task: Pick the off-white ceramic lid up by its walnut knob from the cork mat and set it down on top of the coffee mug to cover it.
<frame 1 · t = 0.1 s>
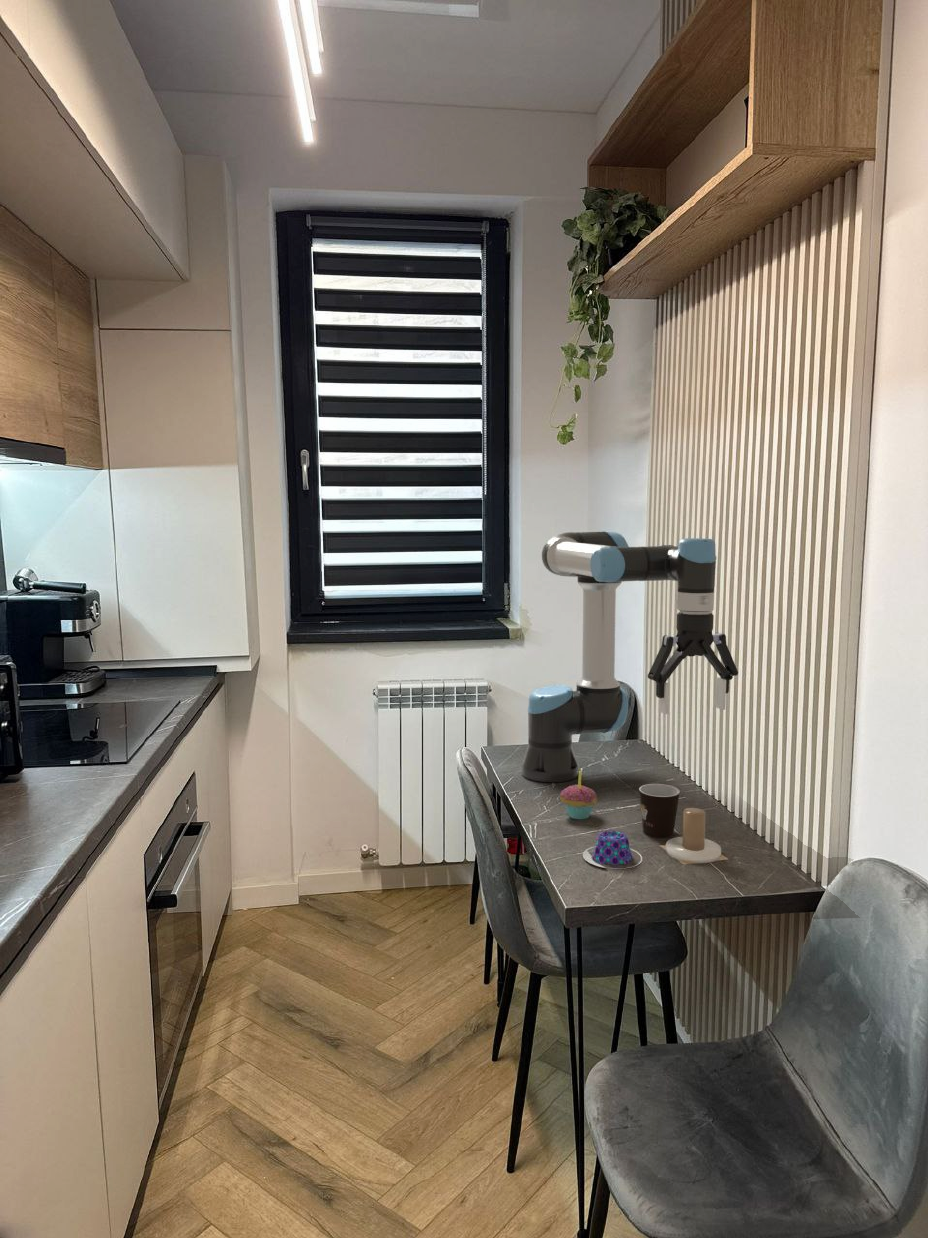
hand: (692, 710, 180), 28 cm above the table, fingers open, 13 cm apart
cork mat: (693, 854, 174), on the table
pudding: (612, 861, 172), on the table
cupcake: (578, 816, 196), on the table
coffee mug: (658, 832, 186), on the table
lid: (693, 852, 174), resting on cork mat
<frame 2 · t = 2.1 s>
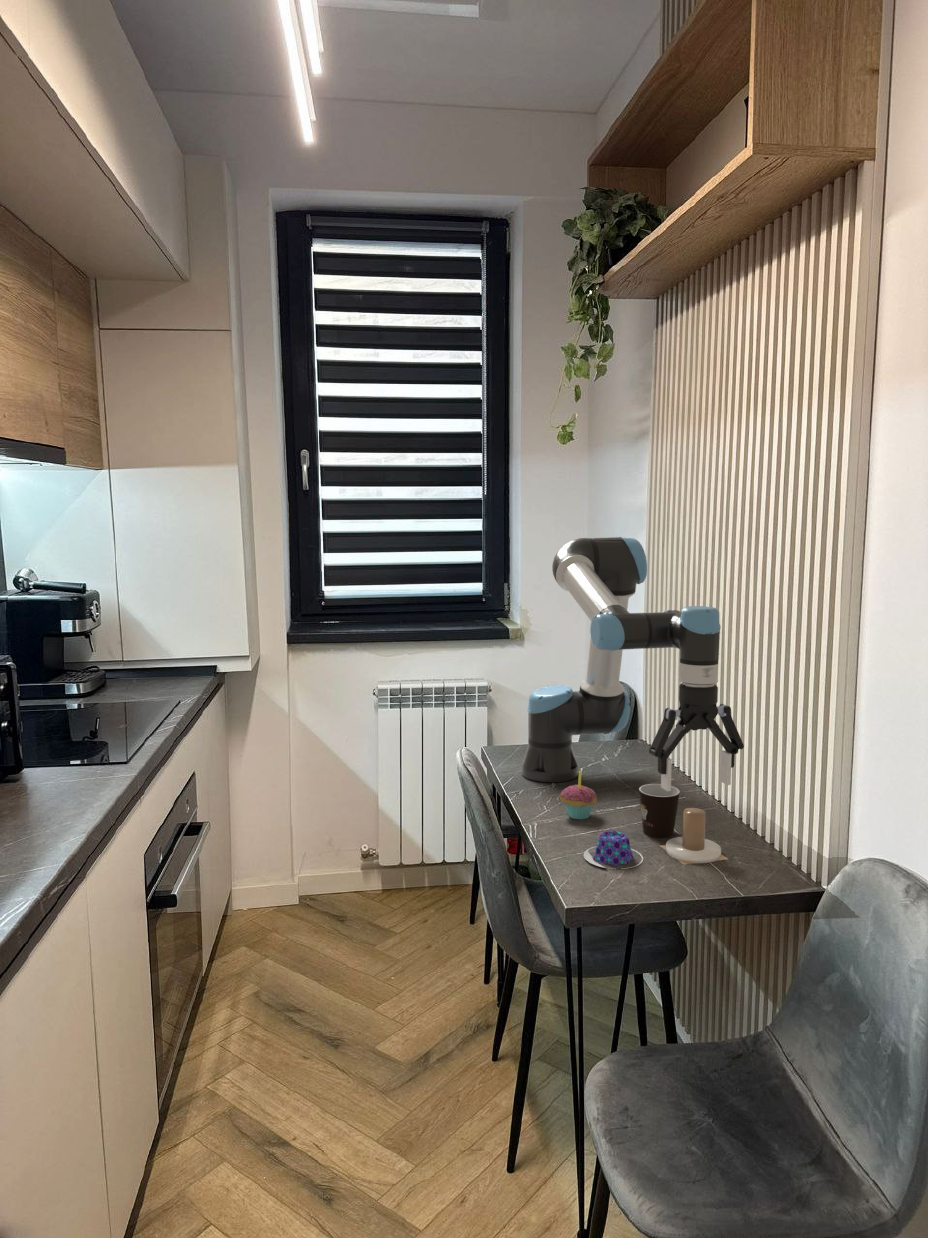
hand: (695, 786, 172), 15 cm above the table, fingers open, 13 cm apart
nothing on the table moved.
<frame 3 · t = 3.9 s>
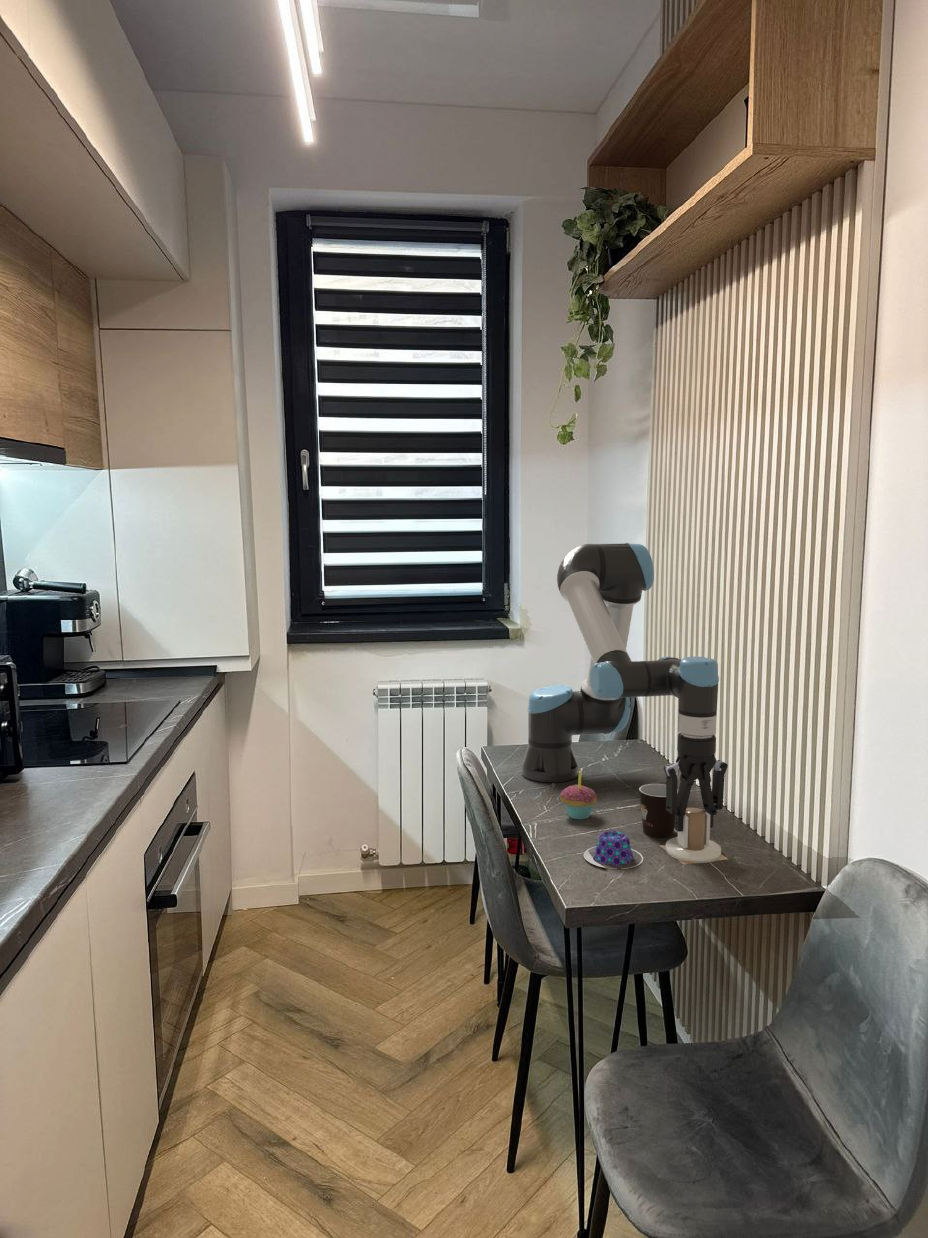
hand: (693, 844, 174), 2 cm above the table, fingers closed on lid, 4 cm apart
lid: (693, 852, 174), resting on cork mat, touching gripper
everything else where it was.
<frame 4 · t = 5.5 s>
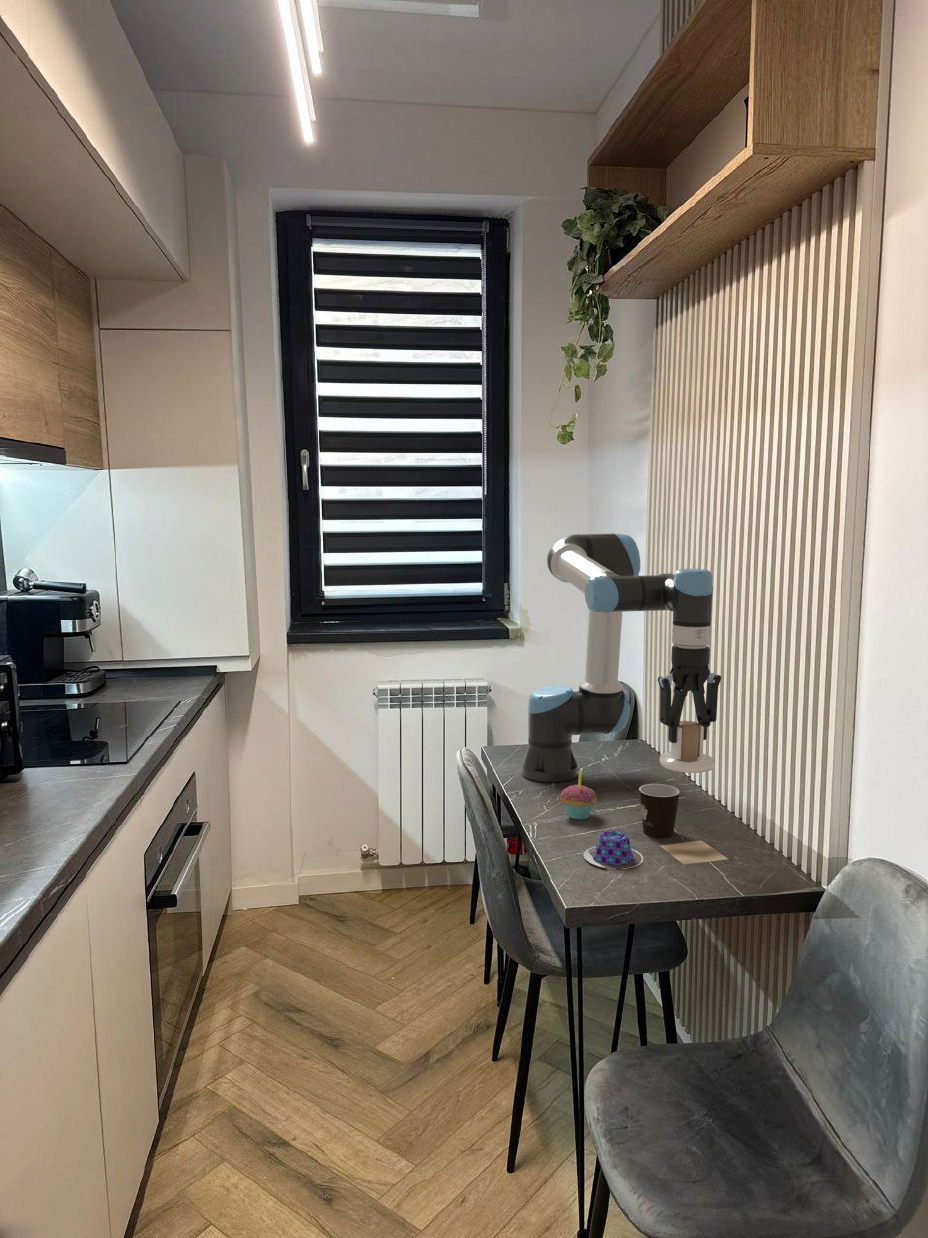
hand: (686, 756, 174), 20 cm above the table, fingers closed on lid, 4 cm apart
lid: (686, 764, 175), point 18 cm above the table, touching gripper
everything else where it was.
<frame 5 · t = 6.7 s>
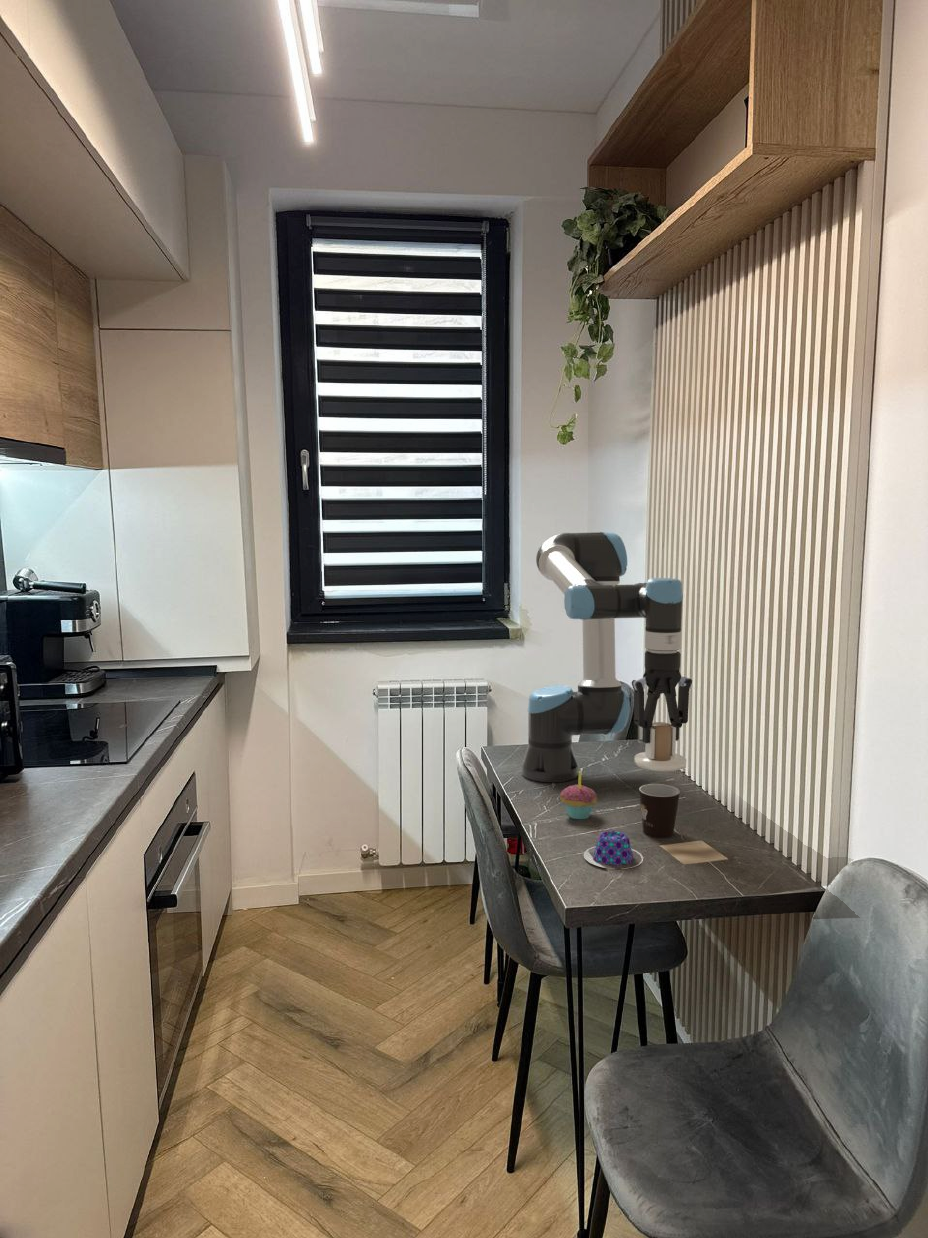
hand: (660, 756, 184), 17 cm above the table, fingers closed on lid, 4 cm apart
lid: (660, 763, 184), point 16 cm above the table, touching gripper
everything else where it was.
when the fingers open (13 cm above the table, at t = 7.6 s): lid drops 2 cm, resting on coffee mug.
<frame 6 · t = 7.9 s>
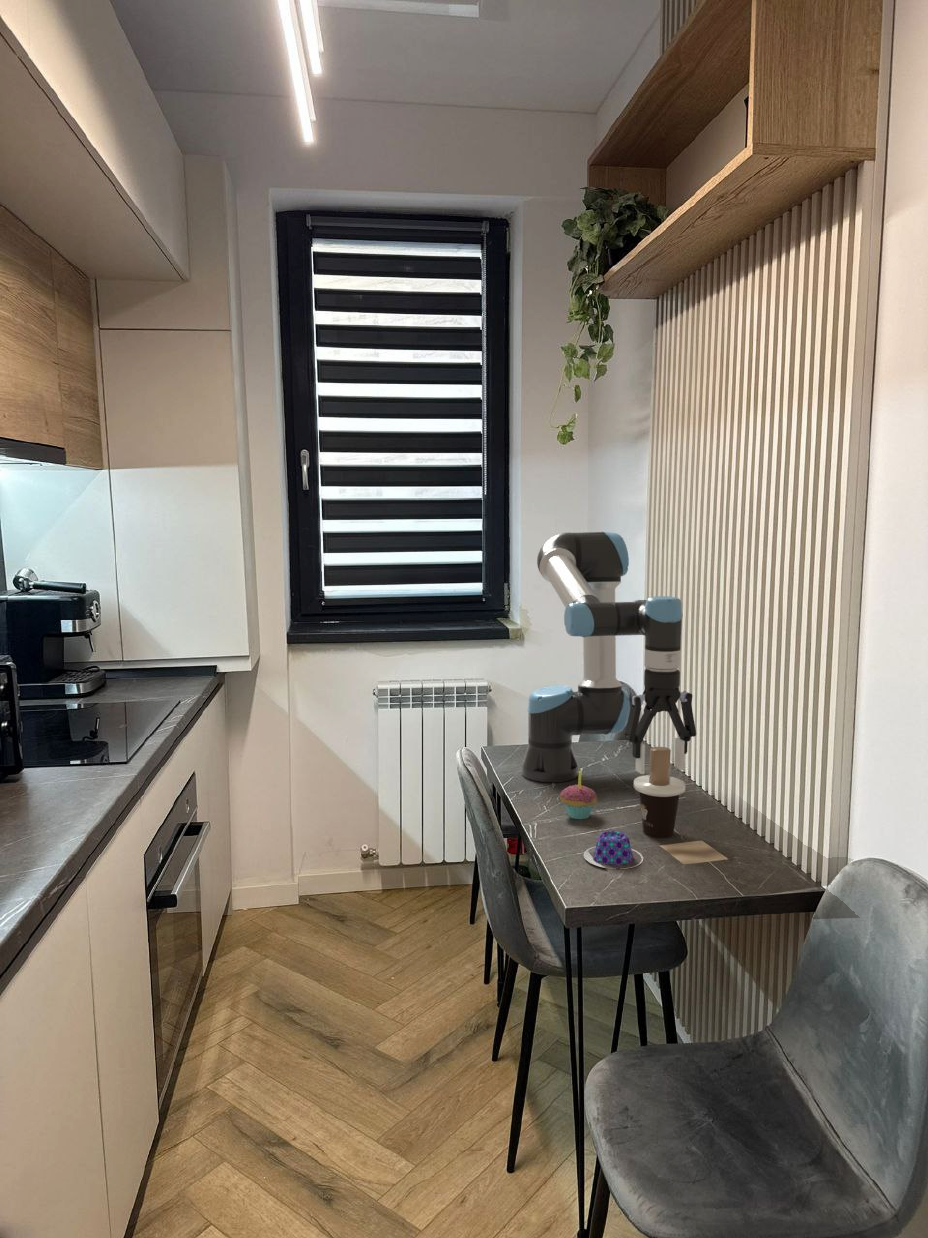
hand: (659, 770, 184), 14 cm above the table, fingers open, 9 cm apart
coffee mug: (658, 832, 186), on the table, touching lid
lid: (659, 788, 185), point 10 cm above the table, touching coffee mug
everything else where it was.
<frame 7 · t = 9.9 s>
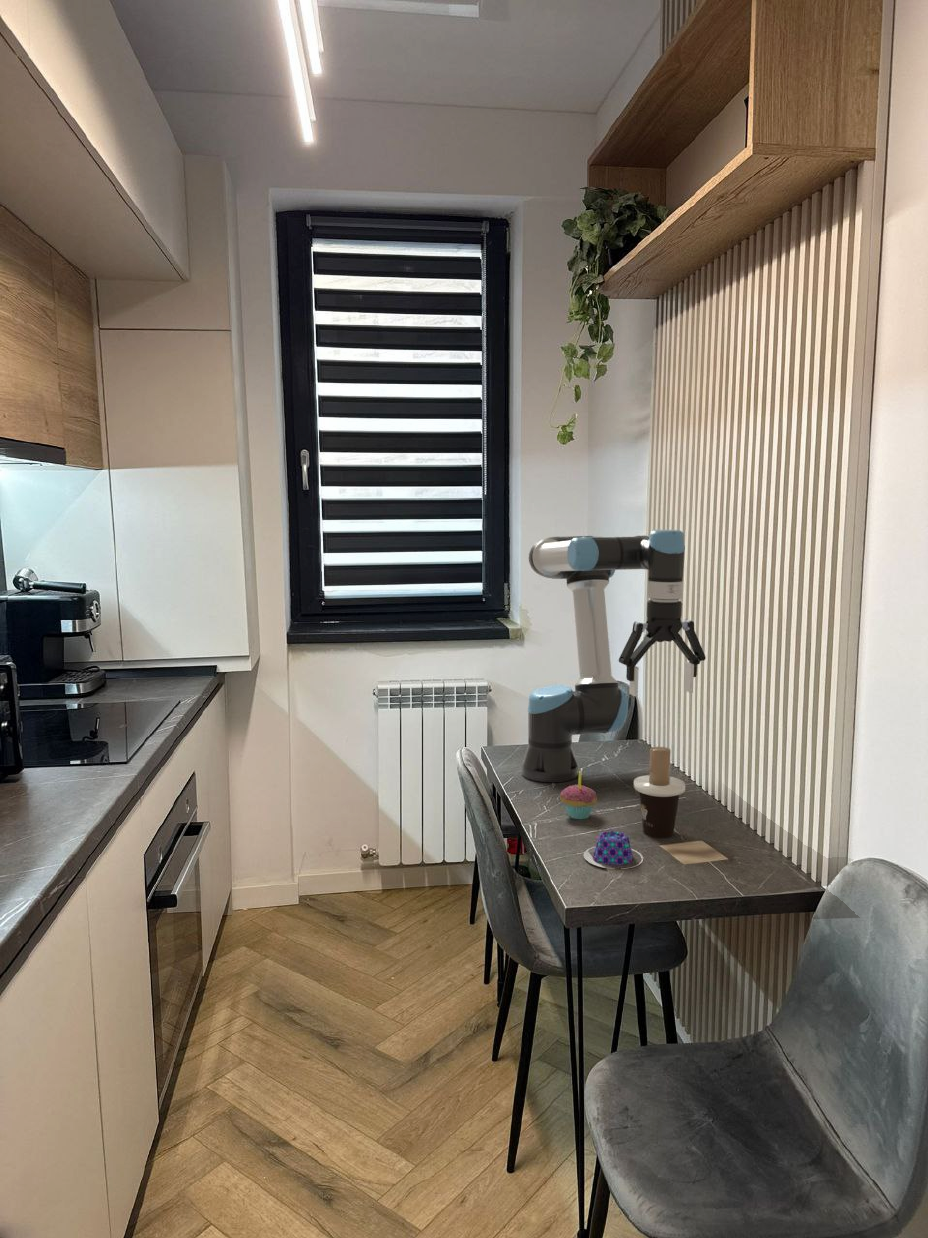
hand: (661, 693, 190), 29 cm above the table, fingers open, 13 cm apart
nothing on the table moved.
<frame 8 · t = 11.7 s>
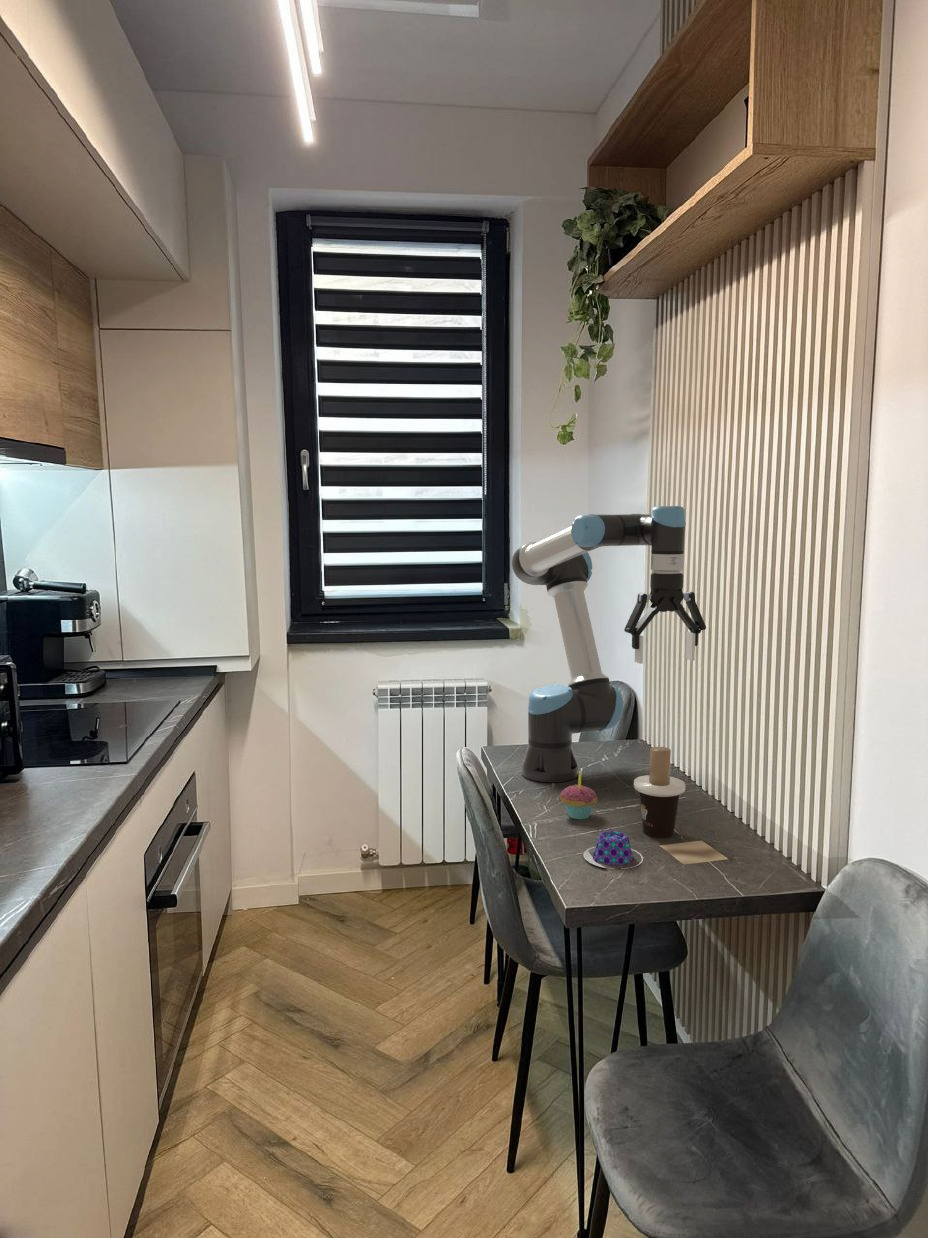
hand: (664, 661, 200), 35 cm above the table, fingers open, 13 cm apart
at the end: lid inside the target area in the coffee mug (0.0 cm from its centre), point 10.2 cm above the coffee mug's base; lid tilted 0°; the gripper is holding nothing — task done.
